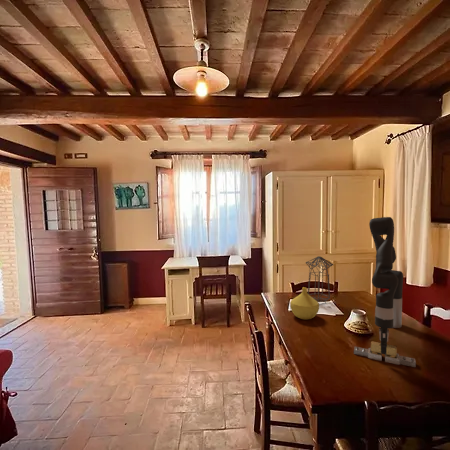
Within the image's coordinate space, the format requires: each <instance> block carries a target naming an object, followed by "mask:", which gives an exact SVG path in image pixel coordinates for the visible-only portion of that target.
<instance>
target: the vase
mask: <svg viewBox="0 0 450 450" xmlns="http://www.w3.org/2000/svg"><path fill="white" fill-rule="evenodd" d="M312 297H313V296H312V295H308V288H307V287H304V286H303V287H302V290H301V293H299V295H297V296H296V297H294V298H292V299H291V300H290V302H289V305H290V306H289V307H290V310H291V312H292V313H293V315H294V316H295V317H296V318H298V319H300V320H312V319H314V317H317V314H318V313H319V310H320V305H319V304H320V302H317V301H318V300H317V301H316V300H315V299H316V298H315V299H313V298H314V297H313V298H312Z"/></svg>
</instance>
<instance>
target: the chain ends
mask: <svg viewBox="0 0 450 450" xmlns="http://www.w3.org/2000/svg"><path fill="white" fill-rule="evenodd" d="M353 354H354V355H357V356H362V357H365V358H368V359H370V360H376V361H380V362H382V357H383V354H381V353H378V354H375V353H372V351H371V347H368V348H365V347H360V346H354V349H353ZM384 363H390V364H394V365H397V366H398V365H403V366H406V367H407V366H408V367H412V368H416V366H417V365H416V364H417V362H416V358H413V357H409V356H404V355H400V354H399V353H397V355H396V356H395V358H394V357H389V355H388V354H384Z"/></svg>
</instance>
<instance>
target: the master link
mask: <svg viewBox="0 0 450 450" xmlns="http://www.w3.org/2000/svg"><path fill="white" fill-rule="evenodd" d="M380 344H381V342H378V341H377V342H376V341H373V340H372V341H371V342H370V348H371V351H372V353H375V354H378V353H381V345H380ZM397 351H398V348H397V345H392V344H388V343H387V348H386V354H388V355H389V357H394V358H395V356H396V355H397V354H398V353H397Z"/></svg>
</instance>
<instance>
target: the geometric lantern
mask: <svg viewBox="0 0 450 450" xmlns="http://www.w3.org/2000/svg"><path fill="white" fill-rule="evenodd" d="M305 264H306V266H308V268H309V270H308V271H309V272H308V284H307V286H308V288H307V293H308V295H310V296H311V297H312V298H313V299H315V300H316V301H317V302H318V303H319V306H320V305H321V303H322V302H323V303H322V305H325V304H327V301H328V300H330V298H331V292H330V290H331V289H330V274H329V273H328V272H329V271H328V269H330V268H331V267H332V266H334V264H333V263H331V262H330V261H328V260H327V259H326V258H324V257H323V256H320V255H318V256H316V257H314V258H312V259H310V260H308V261H306V262H305ZM314 268H316V269H317V271H314ZM319 269H320V270H319ZM324 271H326V272H324ZM313 273H314V274H313ZM316 273H318V274H316ZM324 274H325V275H324ZM311 275H312V276H315V277H314V280H315V281H314V293H310V289H311V288H310V285H311V277H312V276H311ZM326 276H327V287H328V288H327V290H328V293H327V294H328V295H327V294H325V293H323V291H324V290H323V288H324V287H323V286H324V285H323V281H324V280H321V277H326ZM317 277H318V278H317ZM320 281H321V283H320ZM320 284H321V292H320ZM316 285H317V290H316ZM316 291H317V293H316ZM312 295H317V297H316V296H314V297H313V296H312ZM322 296H325V298H323V297H322Z"/></svg>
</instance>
